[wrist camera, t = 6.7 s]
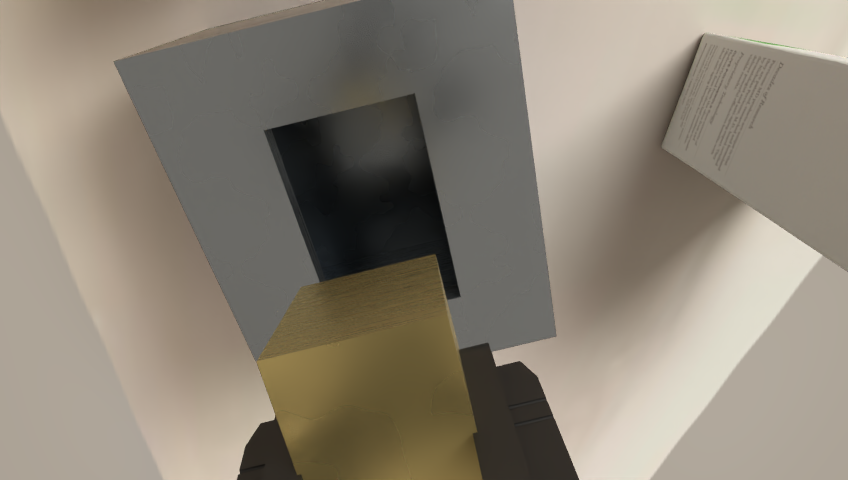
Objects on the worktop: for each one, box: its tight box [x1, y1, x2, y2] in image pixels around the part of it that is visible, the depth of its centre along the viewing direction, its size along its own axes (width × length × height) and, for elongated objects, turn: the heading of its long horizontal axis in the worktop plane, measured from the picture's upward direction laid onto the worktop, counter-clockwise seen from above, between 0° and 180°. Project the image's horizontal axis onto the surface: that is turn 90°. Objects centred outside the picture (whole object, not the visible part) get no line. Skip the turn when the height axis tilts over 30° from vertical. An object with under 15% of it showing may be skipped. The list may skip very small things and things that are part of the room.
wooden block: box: [257, 254, 483, 480], centre depth 10 cm, size 3×6×4 cm, turn 13°
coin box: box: [114, 0, 556, 363], centre depth 23 cm, size 12×14×10 cm
